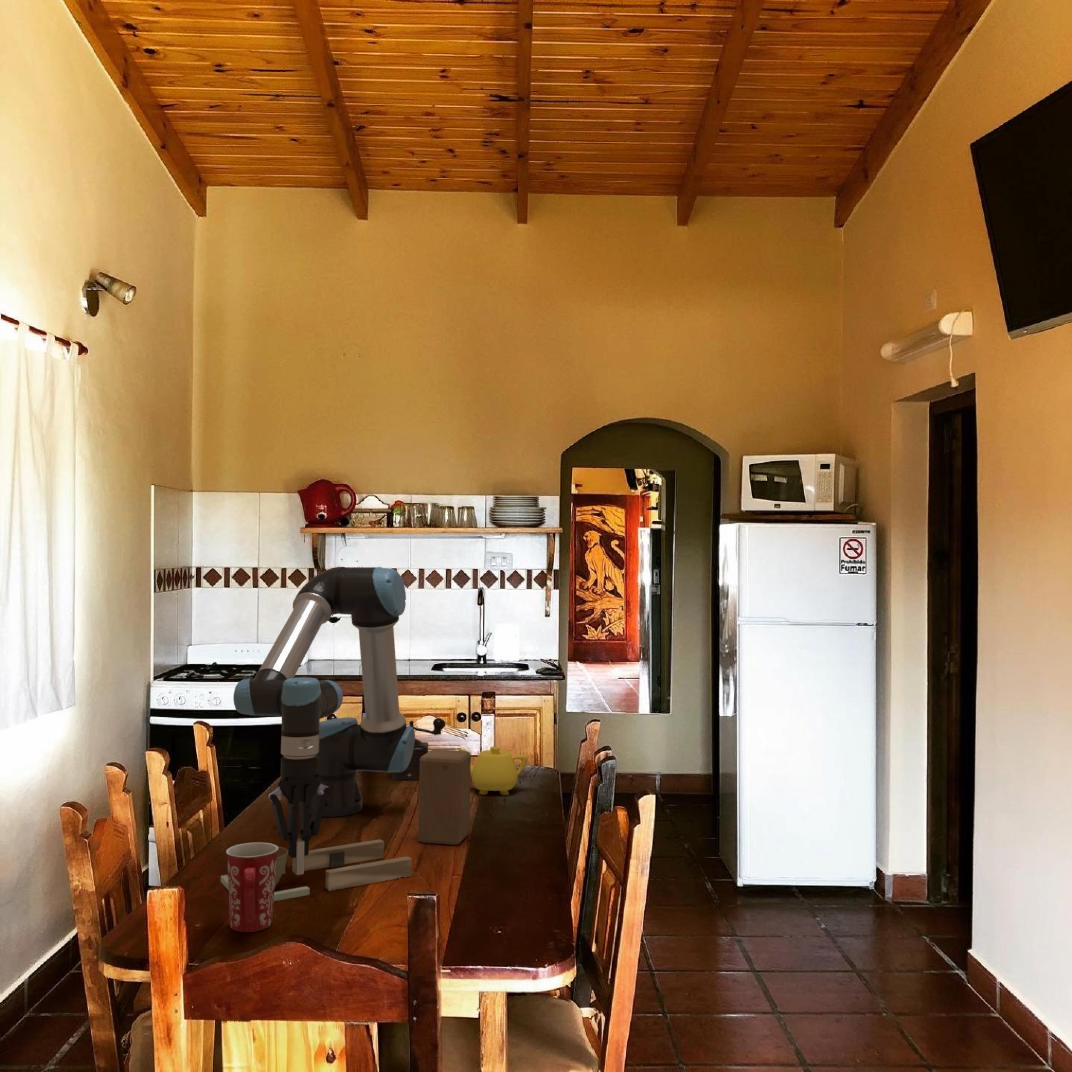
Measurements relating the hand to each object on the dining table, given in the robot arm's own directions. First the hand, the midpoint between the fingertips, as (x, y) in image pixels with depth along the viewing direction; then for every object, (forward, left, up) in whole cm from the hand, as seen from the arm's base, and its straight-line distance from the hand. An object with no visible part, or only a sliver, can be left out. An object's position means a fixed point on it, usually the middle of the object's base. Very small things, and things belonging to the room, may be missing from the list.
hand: (298, 872), depth 197 cm
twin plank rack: (0, +13, -2) cm, 13 cm away
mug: (+19, -15, -2) cm, 24 cm away
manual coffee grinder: (-72, +63, -2) cm, 95 cm away
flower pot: (0, -7, -2) cm, 8 cm away
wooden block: (-12, +40, -2) cm, 41 cm away
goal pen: (0, -6, -2) cm, 7 cm away
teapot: (-46, +73, -2) cm, 86 cm away
